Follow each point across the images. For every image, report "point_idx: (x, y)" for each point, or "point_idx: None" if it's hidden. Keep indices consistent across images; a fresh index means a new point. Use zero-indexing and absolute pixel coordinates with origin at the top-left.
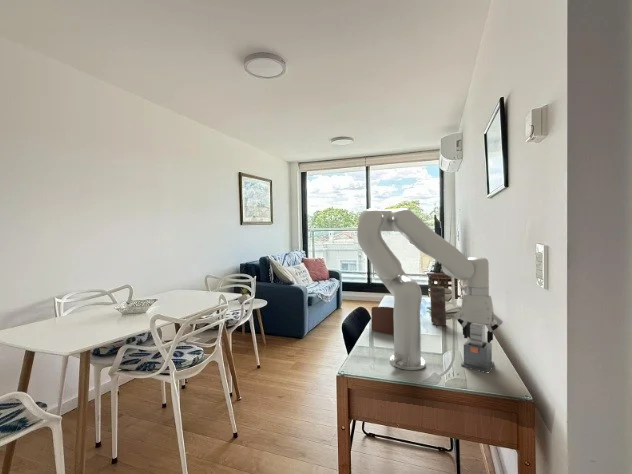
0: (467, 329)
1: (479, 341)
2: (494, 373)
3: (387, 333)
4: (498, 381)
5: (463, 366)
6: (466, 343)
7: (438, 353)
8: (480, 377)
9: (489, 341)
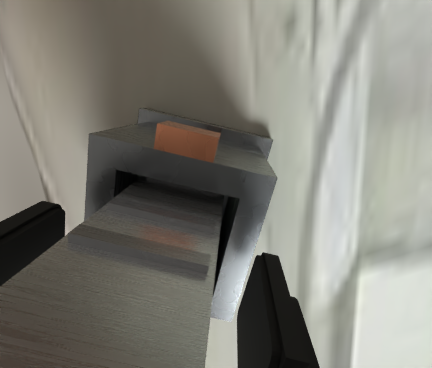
0: (250, 366)
1: (131, 202)
2: (121, 122)
3: None
4: (95, 26)
5: (260, 136)
6: (252, 219)
7: (376, 259)
8: (177, 36)
9: (35, 207)
